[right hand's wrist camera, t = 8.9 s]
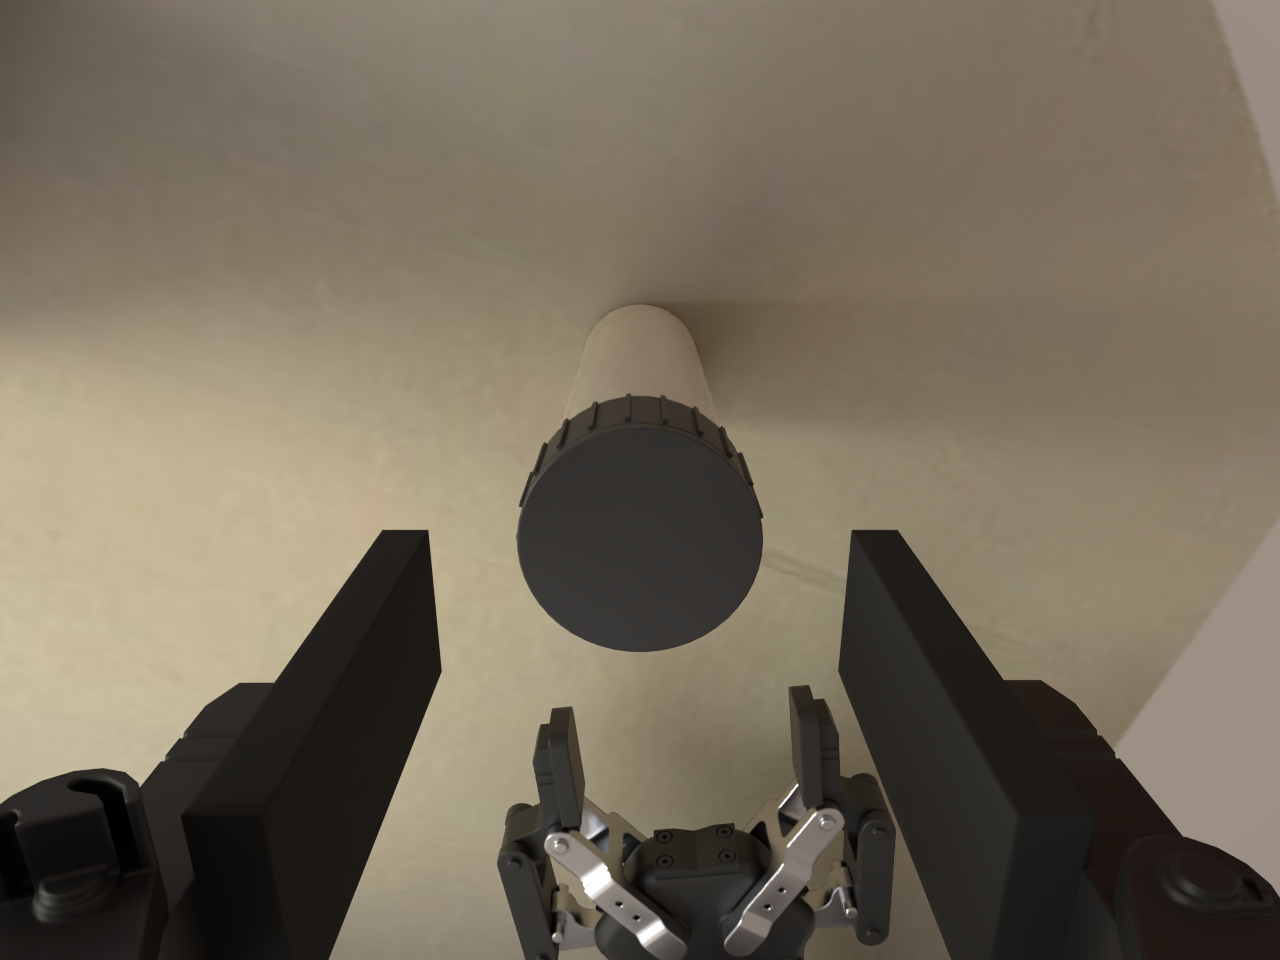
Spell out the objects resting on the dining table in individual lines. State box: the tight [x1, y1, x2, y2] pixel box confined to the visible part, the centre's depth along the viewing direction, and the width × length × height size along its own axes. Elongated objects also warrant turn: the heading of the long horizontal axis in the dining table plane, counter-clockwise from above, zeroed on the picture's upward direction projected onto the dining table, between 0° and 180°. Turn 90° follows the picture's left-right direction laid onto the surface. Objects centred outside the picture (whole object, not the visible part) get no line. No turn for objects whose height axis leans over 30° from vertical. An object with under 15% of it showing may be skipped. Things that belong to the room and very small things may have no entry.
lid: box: [516, 393, 763, 652], centre depth 18 cm, size 5×5×2 cm
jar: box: [558, 304, 721, 430], centre depth 24 cm, size 4×4×16 cm
